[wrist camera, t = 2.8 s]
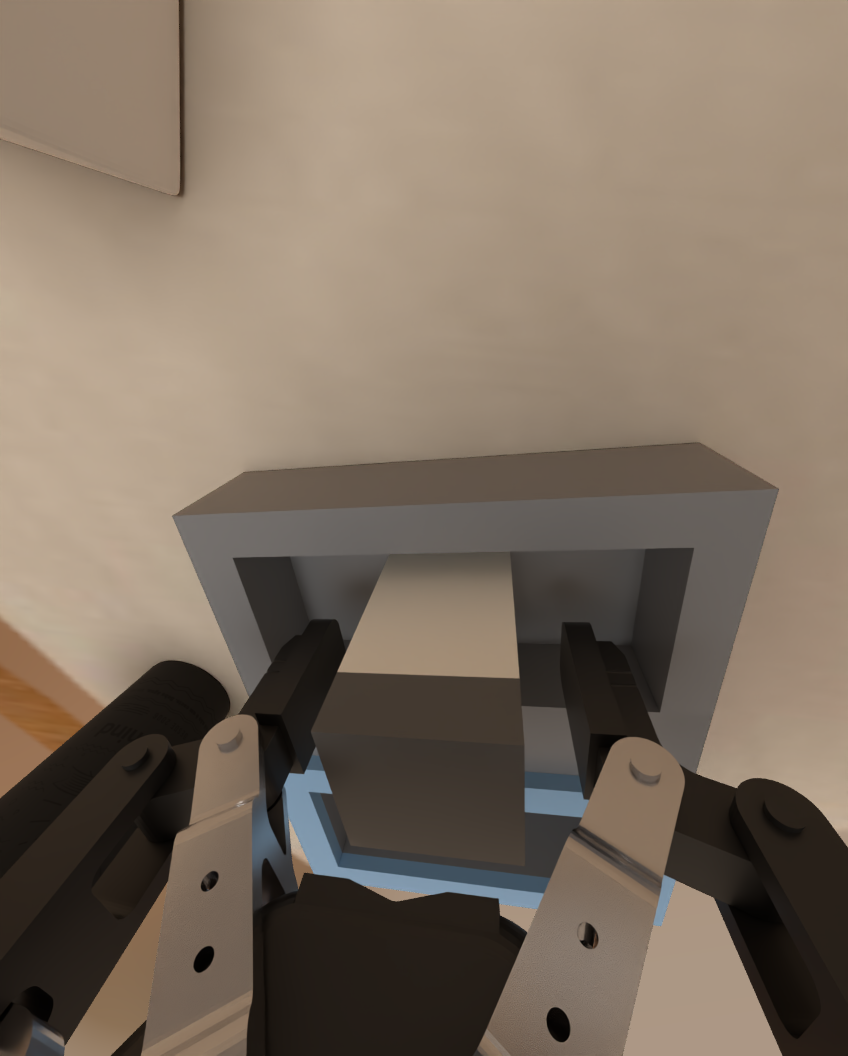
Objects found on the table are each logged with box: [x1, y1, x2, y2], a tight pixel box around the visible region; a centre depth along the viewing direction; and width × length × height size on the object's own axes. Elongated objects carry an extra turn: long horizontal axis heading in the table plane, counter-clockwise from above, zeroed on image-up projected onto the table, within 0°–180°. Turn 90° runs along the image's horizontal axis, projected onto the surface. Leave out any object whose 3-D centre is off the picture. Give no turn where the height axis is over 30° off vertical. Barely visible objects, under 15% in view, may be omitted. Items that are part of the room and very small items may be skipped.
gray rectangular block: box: [311, 552, 525, 866], centre depth 12 cm, size 4×4×8 cm
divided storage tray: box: [172, 443, 779, 926], centre depth 17 cm, size 16×20×5 cm
